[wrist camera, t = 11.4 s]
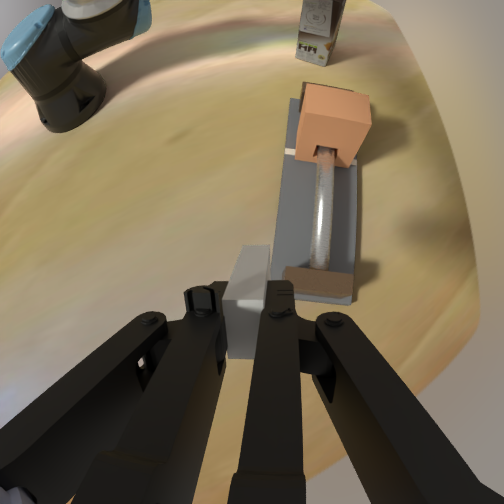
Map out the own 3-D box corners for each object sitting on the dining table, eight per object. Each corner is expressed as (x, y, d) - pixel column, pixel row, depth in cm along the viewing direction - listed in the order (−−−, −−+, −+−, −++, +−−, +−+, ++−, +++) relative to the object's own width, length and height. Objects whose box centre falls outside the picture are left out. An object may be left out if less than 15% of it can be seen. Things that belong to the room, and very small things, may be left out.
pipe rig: (340, 299, 39) (352, 295, 34) (279, 291, 39) (283, 286, 34) (346, 109, 46) (353, 90, 41) (299, 101, 46) (302, 81, 42)
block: (348, 168, 43) (371, 125, 32) (294, 159, 43) (305, 112, 32) (348, 140, 44) (368, 95, 33) (297, 132, 44) (306, 83, 34)
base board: (347, 305, 40) (351, 304, 39) (267, 296, 41) (267, 294, 39) (352, 114, 48) (354, 108, 46) (289, 103, 48) (290, 97, 46)
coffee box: (325, 68, 50) (341, 3, 35) (294, 58, 51) (302, -8, 35) (335, 44, 52) (350, -14, 37) (306, 36, 53) (315, -24, 37)
